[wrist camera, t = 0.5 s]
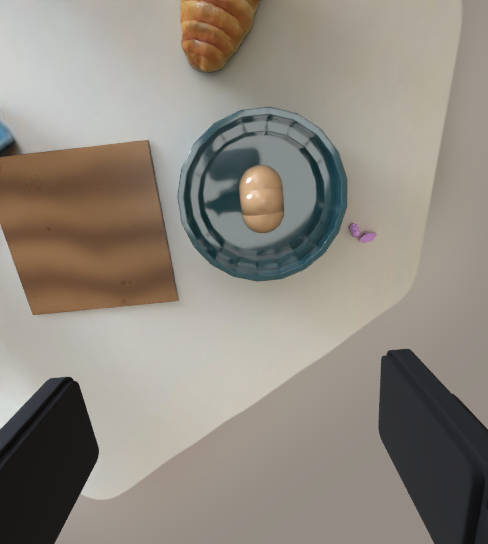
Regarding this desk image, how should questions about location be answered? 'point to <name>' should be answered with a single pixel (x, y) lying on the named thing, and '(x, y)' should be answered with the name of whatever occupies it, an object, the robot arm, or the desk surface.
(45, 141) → the desk surface
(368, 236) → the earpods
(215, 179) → the bowl
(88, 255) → the wooden board
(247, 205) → the beige ridged oval
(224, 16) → the pastry
